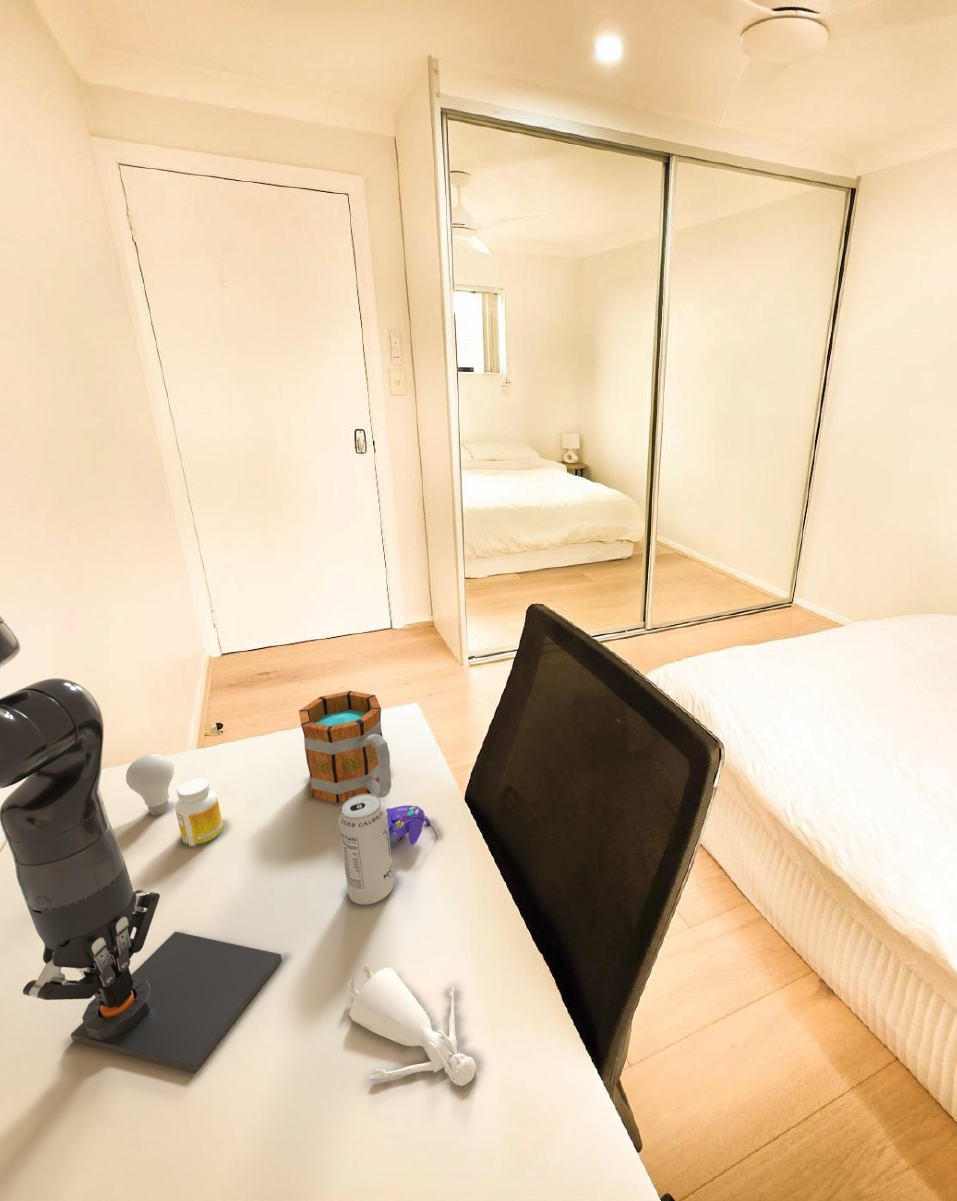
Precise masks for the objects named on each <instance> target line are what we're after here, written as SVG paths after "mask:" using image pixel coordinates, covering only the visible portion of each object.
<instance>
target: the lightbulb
mask: <svg viewBox="0 0 957 1201" xmlns="http://www.w3.org/2000/svg"><path fill="white" fill-rule="evenodd" d="M174 774H175V767H174V763H173V762H172V761H171V760H170V758H168V757H167V756H165V755H164V754H158V753H150V754H145V755H143V756H140V757H138V758H136V760H134V761H132V763H131V764H130V765H129V767H128V769H127V770H126V773H125V780H126V784H127V786H128V787H129V788H130V789H131V790H132V791H134V792H135V793H136V794H138V795H139V796H140V797H141V798H142V799H143V801H144V804H145V806H147V808H148V810H149V813H150V815H151V816H160V815H163V814H165V813H166V812H168V811H169V810H170V802H169V798H170V793H169V789H170V784H171V782H172V780H173V777H174Z"/></svg>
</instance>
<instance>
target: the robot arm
mask: <svg viewBox="0 0 957 1201" xmlns="http://www.w3.org/2000/svg"><path fill="white" fill-rule="evenodd" d="M20 651H21V642H20V641H19V639H18V637H17V636H16V634H15V633H14V631H13V630H12V629H11V627H10V626H9V625H8V623H6V622H5V619H4V618H3V617H2V616H1V615H0V669H1V668H2V667H5V666H6V665H7V664H9V663H10V662H11V661H13V660H14V659H16V658H17V657H18V655H19V654H20ZM104 725H105V724H104V718H103V713H102V710H101V708H100V705H99V703H98V701H97V700H96V698H95V697H94V696H93V694H92V693H91V692H90V691H89V690H88V689H87V688H86V687H84V686H82V685H81V684H79V683H77V682H75V681H74V680H70V679H67V678H61V677H59V678H58V677H55V678H54V677H53V678H46V679H43V680H39V681H36V682H34V683H31V684H30V685H26V686H25V687H23V688H20V689H18V690H16V691H14V692H12V693H11V692H10V693H9V694H7V695H5V696H2V697H0V789H5V788H9V787H11V786H13V785H16V784H18V783H19V782H22V781H23V780H24V781H23V782H22V783H20V785H19V786H18V787H16V788H15V789H14V790H13V791H12V792H11V793H10V794H9V795H8V796H7V797H6V798H5V800H4V801H3V802H2V803H1V805H0V826H1V830H2V832H3V835H4V837H5V840H6V843H7V845H8V848H9V850H10V852H11V855H12V858H13V862H14V867H15V875H16V879H17V883H18V886H19V888H20V891H21V893H22V896H23V899H24V901H25V905H26V906H27V909H28V912H29V915H30V917H31V920H32V923H33V925H34V928H35V930H36V932H37V934H38V936H39V938H40V939H41V940H42V942H43V944H44V950H43V954H42V961H43V962H44V964H45V966H43V969H42V971H41V973H40V974H39V976H38V978H37V979H32V980H30V981H28V982H27V983H26V984H25V985H24V987H23V989H22V994H23V995H24V996H29V997H32V998H36V999H40V1000H45V1001H61V1000H62V1001H63V1000H89V999H92V998H93V997H94V998H96V1001H97V1004H99V1005H101V1006H105V1007H109V1008H112V1007H117V1008H118V1007H120V1006H121V1005H122V1004H123V1003H124V1002H125V1001H126V1000H127V999H128V998H129V997H130V996H131V995H132V992H131V988H132V987H133V980H132V976H131V975H132V973H131V970H130V968H129V967H130V965H131V958H132V957H133V955H134V954H138V953H139V952H141V951H142V949H143V947H144V945H145V942H146V939H147V936H148V933H149V930H150V928H151V925H152V921H153V918H154V916H155V914H156V909H157V907H158V904H159V900H160V897H161V895H160V893H158V892H153V891H150V890H149V891H148V890H144V889H136V890H135V891H134V888H133V884H132V881H131V878H130V874H129V871H128V867H127V864H126V861H125V858H124V855H123V850H122V848H121V844H120V841H119V839H118V836H117V834H116V832H115V830H114V829H113V827H112V824H111V822H110V821H109V816H108V812H107V810H106V806H105V803H104V799H103V797H102V794H101V791H100V785H101V784H100V783H101V775H102V764H103V753H104V752H103V751H104V750H103V749H104V735H105V733H104V732H105V726H104ZM134 928H135V932H134V936H133V938H132V937H131V936H132V933H133V931H134ZM62 968H68V969H76V970H77V971H79V972H80V975H81V976H82V978H81V979H79V980H76V979H67V978H66V974H65V973H62V972H61V969H62Z"/></svg>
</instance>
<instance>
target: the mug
mask: <svg viewBox="0 0 957 1201" xmlns="http://www.w3.org/2000/svg"><path fill="white" fill-rule="evenodd" d="M298 715H299V721H300V726H301V729H302V733H303V741H304V742H303V744H304V754H305V759H306V764H307V768H308V771H309V784H310V789H311V790H310V791H311V795H312V798H314V799H319V800H323V801H327V802H332V803H337V804H340V803H345V802H346V801H347V800H349V799H350V798H352V797H354V796H357V795H360V794H374V795H376V796H378V797H379V798H380V799H382V798H385V797H387V796H388V795H389V794H390V791H391V788H392V775H391V752H390V749H389V745H388V742H387V741H386V739H385V738H384V736H383V731H382V722H381V721H382V720H381V715H382V707H381V704H380V702H379V700H378V698H377V696H376V694H371V693H365V692H359V691H354V690H347V691H343V692H337V693H332V694H327V695H321V696H319V697H317V698H316V699H314V700H312V701H311V702H310V703H308V704H307V705H305V706H303V707H302V708H301V709H299V710H298Z"/></svg>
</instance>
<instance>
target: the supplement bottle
mask: <svg viewBox="0 0 957 1201" xmlns="http://www.w3.org/2000/svg"><path fill="white" fill-rule="evenodd" d="M176 793H177V798H178V800H177V802H176V803H175V807H174V808H175V814H176V818H177V823H178V827H179V832H180V835H181V840H182V842H183V844H184V845H186V846H189V847H196V846H202V845H205V844H207V843H208V844H209V843H210V842H212V841H215V839H217V838H218V837H220V836H221V834H222V833H223V831H224V824H223V819H222V814H221V813H222V812H221V809H220V804H219V799H218V795H217V793H216V792H215V791H214V790H212V789H211V785H210V782H209V781H208V780H207V779H205V778H194V779H191V780H188V781H186V782H184V783H183V784H181V785H180V786H179V787H178V788H177V790H176Z"/></svg>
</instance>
